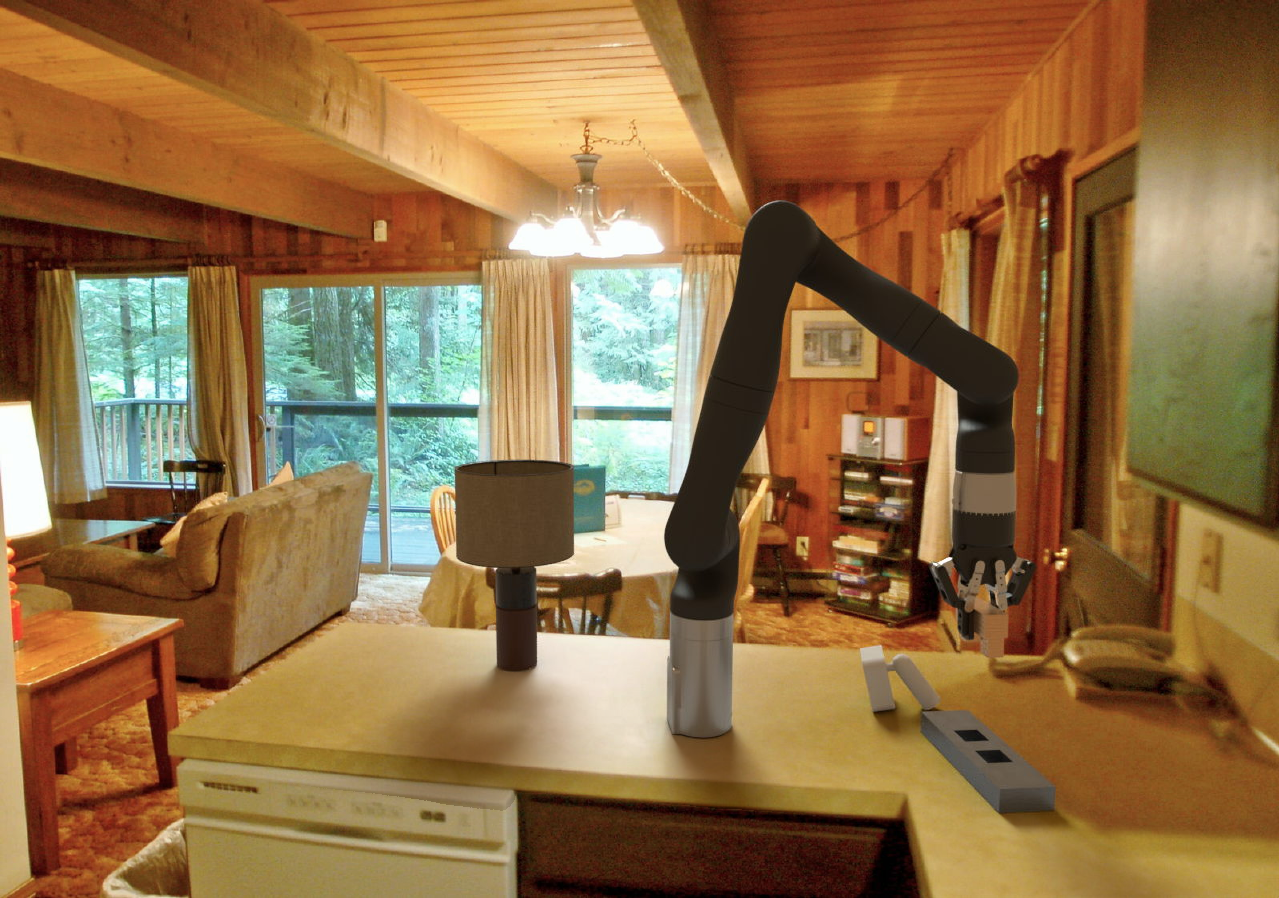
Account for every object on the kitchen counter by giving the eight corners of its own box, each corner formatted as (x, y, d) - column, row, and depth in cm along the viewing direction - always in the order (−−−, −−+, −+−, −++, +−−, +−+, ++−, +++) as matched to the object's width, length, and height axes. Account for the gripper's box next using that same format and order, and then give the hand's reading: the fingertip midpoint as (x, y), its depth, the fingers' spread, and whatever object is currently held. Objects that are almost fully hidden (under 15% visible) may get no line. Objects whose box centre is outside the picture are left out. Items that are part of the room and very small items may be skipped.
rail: (1054, 810, 102) (1055, 786, 101) (998, 812, 101) (999, 789, 101) (966, 729, 124) (967, 709, 123) (920, 731, 123) (921, 711, 122)
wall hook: (946, 716, 126) (932, 652, 126) (875, 726, 129) (861, 663, 128) (938, 695, 134) (925, 635, 134) (872, 705, 137) (859, 645, 136)
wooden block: (1007, 657, 106) (1008, 614, 105) (984, 658, 106) (985, 615, 105) (976, 636, 114) (977, 596, 113) (955, 637, 114) (955, 597, 113)
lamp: (568, 686, 139) (567, 475, 135) (446, 685, 139) (441, 474, 135) (579, 644, 159) (578, 459, 155) (471, 643, 159) (468, 459, 155)
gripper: (943, 512, 104) (941, 649, 105) (1053, 509, 105) (1049, 644, 107) (918, 502, 111) (916, 630, 113) (1020, 499, 112) (1017, 626, 114)
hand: (980, 636), depth 110 cm, fingers closed on wooden block, 3 cm apart
